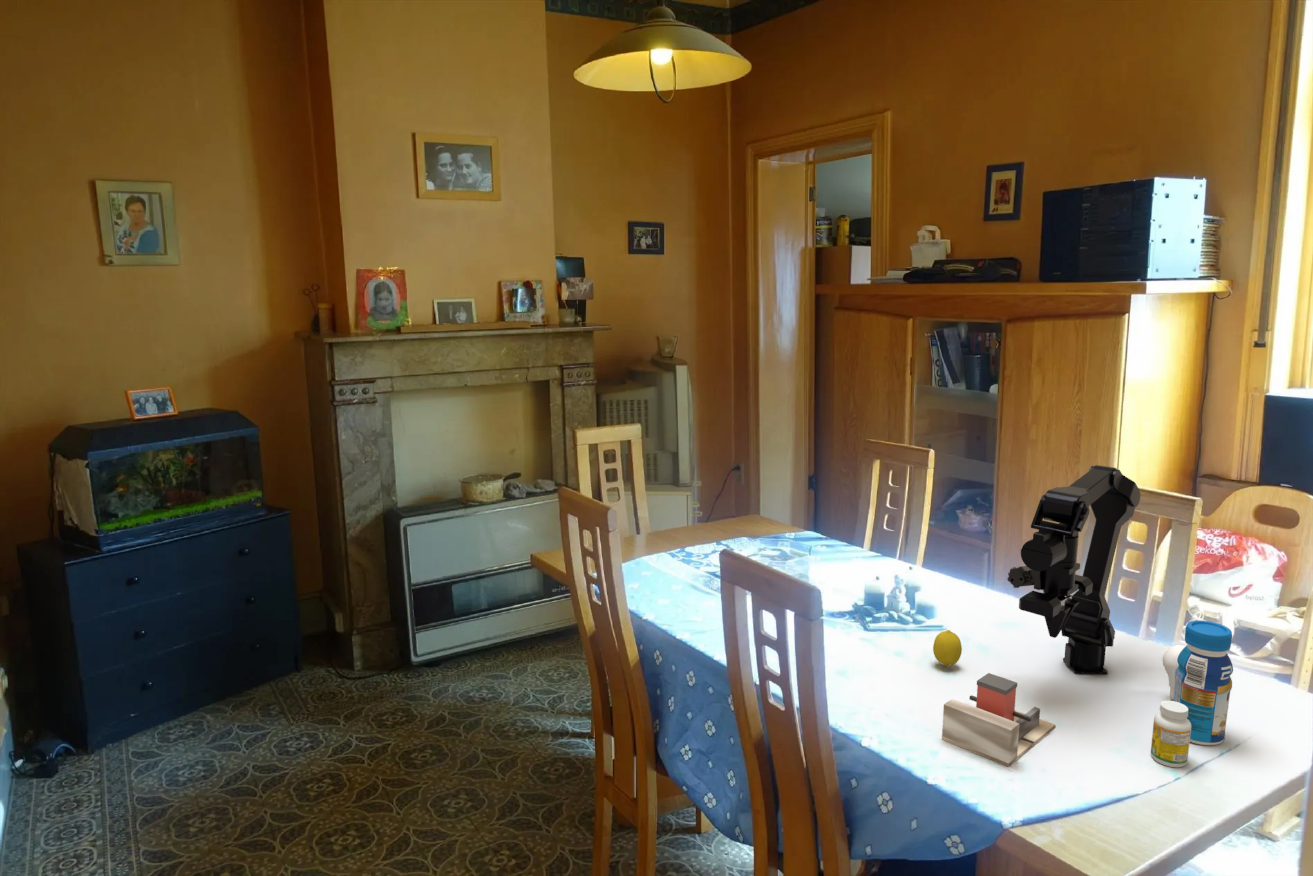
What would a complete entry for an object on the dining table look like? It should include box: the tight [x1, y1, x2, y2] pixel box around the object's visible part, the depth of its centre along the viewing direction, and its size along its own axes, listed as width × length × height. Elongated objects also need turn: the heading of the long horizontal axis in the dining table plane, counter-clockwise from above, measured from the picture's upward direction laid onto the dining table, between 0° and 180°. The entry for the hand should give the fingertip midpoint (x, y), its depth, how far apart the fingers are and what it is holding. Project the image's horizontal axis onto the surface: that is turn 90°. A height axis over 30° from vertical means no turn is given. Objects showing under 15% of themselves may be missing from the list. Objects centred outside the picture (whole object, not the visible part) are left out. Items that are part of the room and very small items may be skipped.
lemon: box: [932, 629, 963, 668], centre depth 180 cm, size 6×6×8 cm
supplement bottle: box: [1150, 700, 1191, 768], centre depth 145 cm, size 5×5×10 cm
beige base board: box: [941, 698, 1056, 768], centre depth 154 cm, size 18×12×7 cm, turn 133°
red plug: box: [969, 672, 1032, 722], centre depth 152 cm, size 4×11×10 cm, turn 43°
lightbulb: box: [1161, 644, 1187, 700], centre depth 164 cm, size 6×6×11 cm
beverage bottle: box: [1172, 619, 1234, 746], centre depth 152 cm, size 8×8×20 cm
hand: (1053, 636), depth 166 cm, fingers closed
